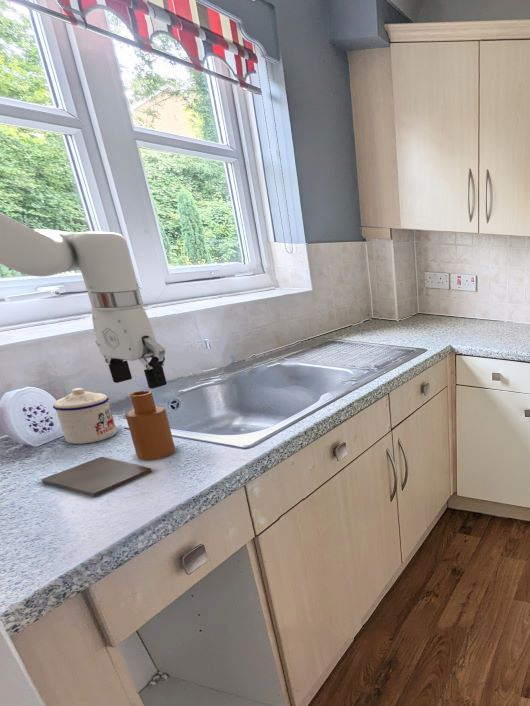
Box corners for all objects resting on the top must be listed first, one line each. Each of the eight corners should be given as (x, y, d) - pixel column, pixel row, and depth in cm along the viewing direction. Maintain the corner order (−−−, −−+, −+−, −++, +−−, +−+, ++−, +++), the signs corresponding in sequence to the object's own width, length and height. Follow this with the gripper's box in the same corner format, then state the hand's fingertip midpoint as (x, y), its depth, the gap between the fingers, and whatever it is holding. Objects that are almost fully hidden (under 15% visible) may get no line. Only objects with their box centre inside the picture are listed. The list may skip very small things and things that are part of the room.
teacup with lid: (108, 442, 102) (94, 393, 98) (56, 447, 99) (38, 397, 95) (129, 422, 113) (117, 377, 109) (82, 426, 109) (68, 380, 105)
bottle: (130, 457, 96) (112, 395, 92) (160, 445, 102) (145, 386, 97) (152, 462, 95) (135, 400, 90) (182, 449, 101) (167, 390, 96)
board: (42, 482, 86) (41, 479, 86) (102, 459, 95) (101, 456, 95) (95, 497, 82) (93, 493, 82) (152, 471, 91) (151, 468, 91)
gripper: (61, 299, 86) (89, 384, 92) (128, 306, 82) (152, 394, 88) (106, 294, 93) (129, 373, 99) (169, 300, 88) (190, 383, 94)
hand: (140, 383), depth 93 cm, fingers open, 9 cm apart
